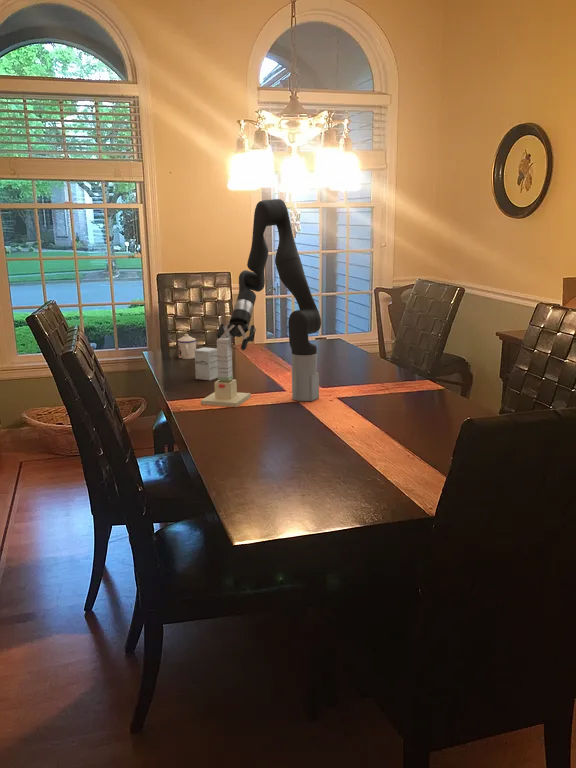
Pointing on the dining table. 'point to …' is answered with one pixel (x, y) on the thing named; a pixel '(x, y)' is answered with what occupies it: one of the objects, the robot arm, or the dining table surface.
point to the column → (224, 359)
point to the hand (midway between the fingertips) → (231, 348)
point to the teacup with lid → (187, 347)
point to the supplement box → (206, 363)
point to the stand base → (226, 394)
